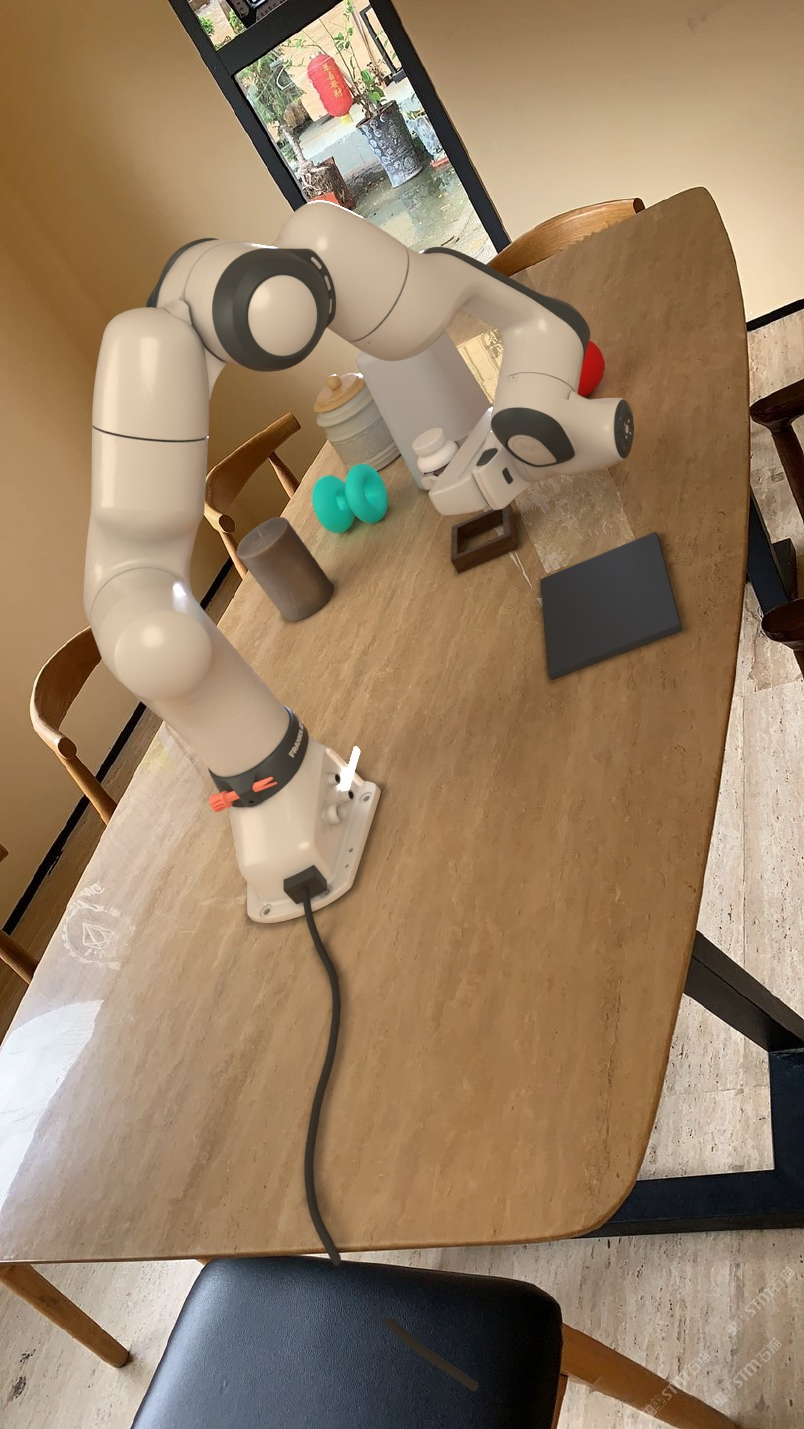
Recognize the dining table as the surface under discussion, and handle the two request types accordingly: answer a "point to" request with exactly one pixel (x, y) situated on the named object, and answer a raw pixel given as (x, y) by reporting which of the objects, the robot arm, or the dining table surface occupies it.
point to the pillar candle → (285, 569)
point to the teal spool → (350, 498)
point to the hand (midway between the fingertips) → (436, 465)
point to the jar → (354, 423)
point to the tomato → (591, 370)
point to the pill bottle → (434, 451)
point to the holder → (488, 549)
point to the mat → (608, 606)
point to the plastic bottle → (424, 396)
